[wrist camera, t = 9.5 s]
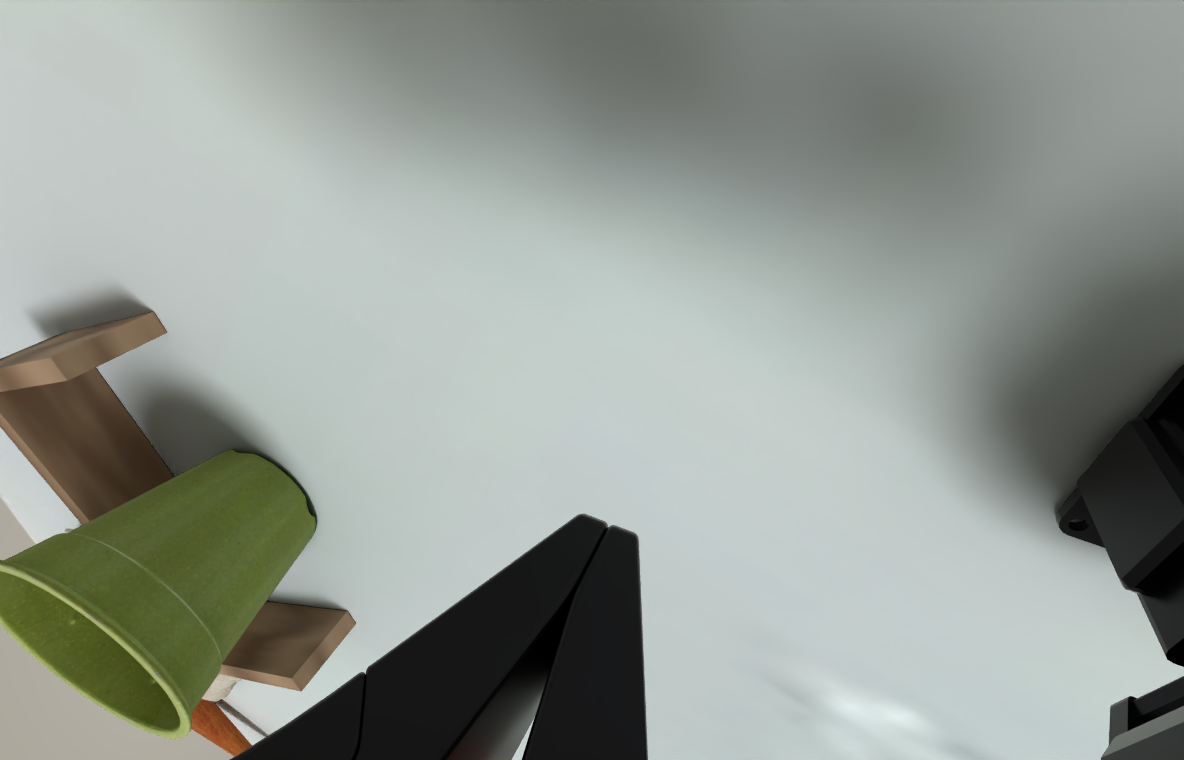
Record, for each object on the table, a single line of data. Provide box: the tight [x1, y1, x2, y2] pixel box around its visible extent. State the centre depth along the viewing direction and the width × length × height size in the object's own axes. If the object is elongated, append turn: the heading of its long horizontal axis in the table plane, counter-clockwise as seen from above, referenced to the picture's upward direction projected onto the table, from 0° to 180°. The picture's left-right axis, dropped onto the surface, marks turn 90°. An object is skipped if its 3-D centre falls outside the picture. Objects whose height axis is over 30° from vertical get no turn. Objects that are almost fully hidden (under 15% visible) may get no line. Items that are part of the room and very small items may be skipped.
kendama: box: [191, 699, 252, 756], centre depth 57 cm, size 6×6×20 cm
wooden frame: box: [0, 312, 356, 691], centre depth 36 cm, size 10×23×5 cm, turn 18°
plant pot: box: [0, 450, 316, 739], centre depth 32 cm, size 12×12×11 cm
